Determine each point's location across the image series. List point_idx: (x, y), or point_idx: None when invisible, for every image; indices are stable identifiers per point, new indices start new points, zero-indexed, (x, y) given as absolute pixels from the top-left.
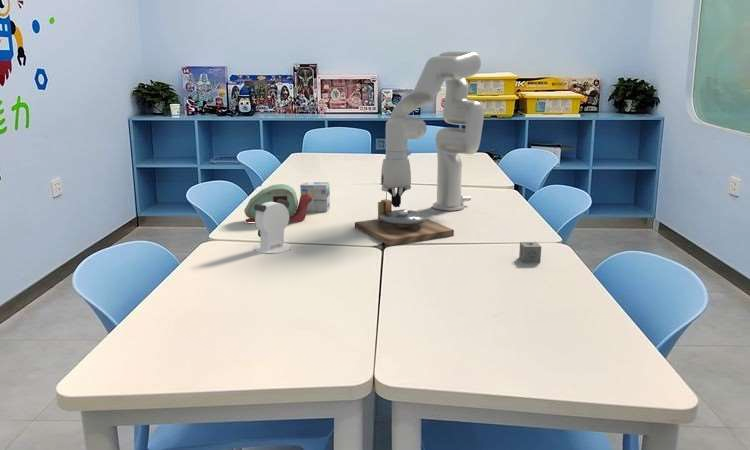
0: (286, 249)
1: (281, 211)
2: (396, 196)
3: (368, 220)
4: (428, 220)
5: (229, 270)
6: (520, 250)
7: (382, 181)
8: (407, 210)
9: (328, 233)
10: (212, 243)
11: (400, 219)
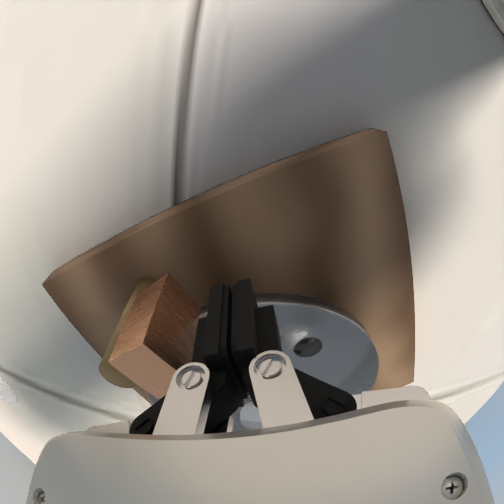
0: (14, 398)
1: None
2: (238, 406)
3: (86, 259)
4: (403, 281)
5: (12, 426)
6: None
7: (42, 471)
8: None
9: (12, 320)
10: None
11: (241, 430)
